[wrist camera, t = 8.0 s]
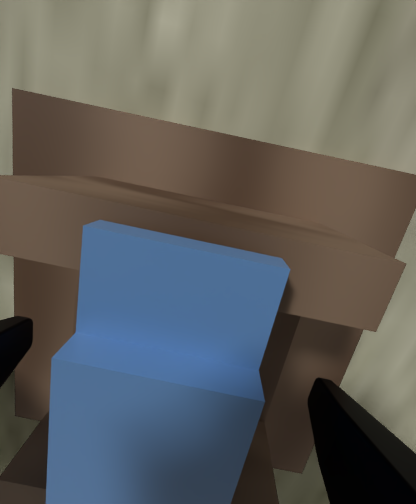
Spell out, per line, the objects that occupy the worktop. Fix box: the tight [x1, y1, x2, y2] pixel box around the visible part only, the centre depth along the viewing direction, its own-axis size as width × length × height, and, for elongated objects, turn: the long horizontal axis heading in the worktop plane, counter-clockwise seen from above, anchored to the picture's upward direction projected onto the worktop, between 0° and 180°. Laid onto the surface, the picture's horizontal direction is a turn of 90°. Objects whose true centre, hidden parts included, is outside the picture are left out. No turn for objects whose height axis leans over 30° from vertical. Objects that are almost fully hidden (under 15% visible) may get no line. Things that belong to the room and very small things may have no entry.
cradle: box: [0, 88, 416, 504], centre depth 9 cm, size 14×14×5 cm
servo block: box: [46, 220, 290, 504], centre depth 8 cm, size 3×9×6 cm, turn 168°
